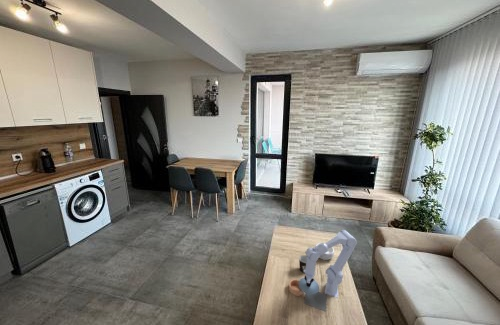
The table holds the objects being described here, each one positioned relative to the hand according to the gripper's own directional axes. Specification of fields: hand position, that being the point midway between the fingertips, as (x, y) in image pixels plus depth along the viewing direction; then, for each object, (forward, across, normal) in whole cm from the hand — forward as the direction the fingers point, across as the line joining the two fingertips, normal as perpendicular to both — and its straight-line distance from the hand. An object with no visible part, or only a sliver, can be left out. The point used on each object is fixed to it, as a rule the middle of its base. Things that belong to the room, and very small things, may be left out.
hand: (308, 284), depth 132 cm
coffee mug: (+9, -21, -4) cm, 24 cm away
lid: (+1, 0, 0) cm, 1 cm away
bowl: (+9, -1, -8) cm, 12 cm away
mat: (+9, +1, +5) cm, 10 cm away
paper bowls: (+9, -45, +7) cm, 47 cm away
